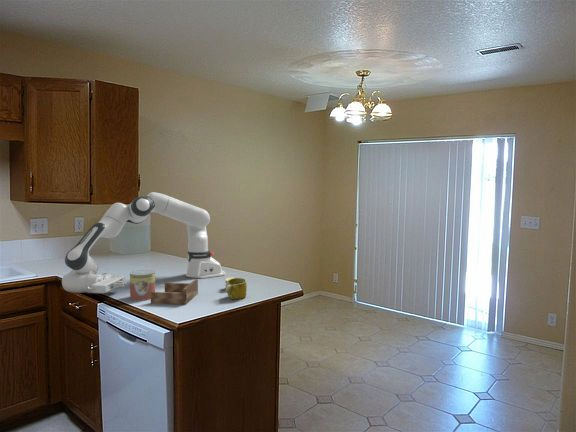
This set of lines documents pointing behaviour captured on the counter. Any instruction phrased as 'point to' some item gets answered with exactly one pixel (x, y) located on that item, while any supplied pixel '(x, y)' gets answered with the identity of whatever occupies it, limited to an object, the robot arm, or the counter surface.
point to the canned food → (142, 284)
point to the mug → (236, 288)
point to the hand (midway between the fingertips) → (125, 284)
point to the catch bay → (176, 293)
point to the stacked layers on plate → (228, 279)
